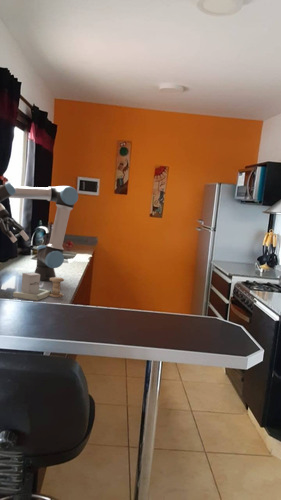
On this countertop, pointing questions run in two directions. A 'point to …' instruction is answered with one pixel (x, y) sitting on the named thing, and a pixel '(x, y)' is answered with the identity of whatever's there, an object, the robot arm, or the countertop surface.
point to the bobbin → (56, 287)
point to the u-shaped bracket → (37, 297)
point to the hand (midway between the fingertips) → (21, 240)
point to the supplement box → (30, 283)
